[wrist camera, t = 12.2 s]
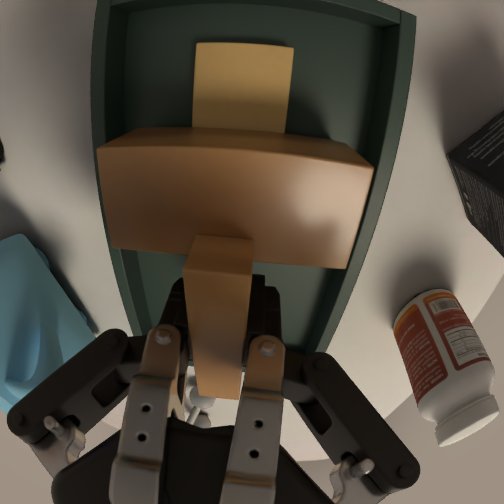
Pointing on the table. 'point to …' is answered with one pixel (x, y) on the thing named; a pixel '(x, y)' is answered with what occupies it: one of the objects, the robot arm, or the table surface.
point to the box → (483, 180)
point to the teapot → (33, 321)
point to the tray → (297, 122)
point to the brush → (231, 219)
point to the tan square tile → (241, 86)
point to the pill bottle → (446, 365)
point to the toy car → (1, 150)
